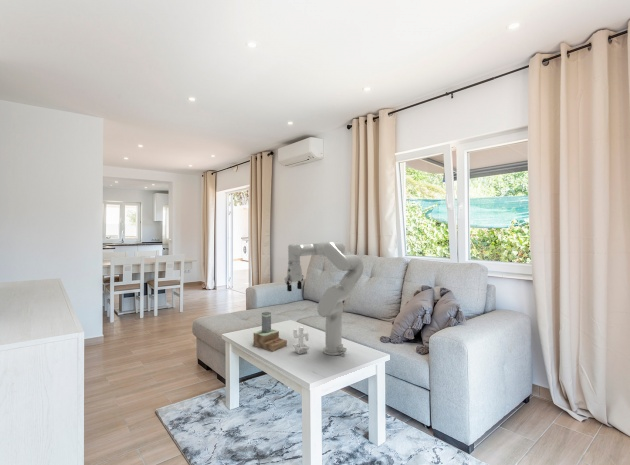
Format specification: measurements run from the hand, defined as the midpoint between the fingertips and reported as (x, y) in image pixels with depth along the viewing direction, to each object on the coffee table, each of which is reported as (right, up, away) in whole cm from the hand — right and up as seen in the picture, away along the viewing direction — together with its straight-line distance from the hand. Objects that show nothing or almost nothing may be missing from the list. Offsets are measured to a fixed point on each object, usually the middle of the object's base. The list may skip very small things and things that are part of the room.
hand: (294, 290), depth 215 cm
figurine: (+5, -33, -19) cm, 39 cm away
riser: (-15, -33, -8) cm, 37 cm away
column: (-17, -25, -6) cm, 31 cm away
